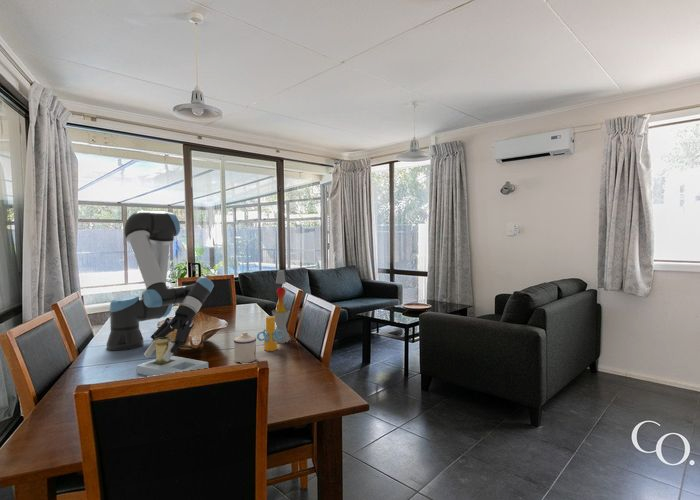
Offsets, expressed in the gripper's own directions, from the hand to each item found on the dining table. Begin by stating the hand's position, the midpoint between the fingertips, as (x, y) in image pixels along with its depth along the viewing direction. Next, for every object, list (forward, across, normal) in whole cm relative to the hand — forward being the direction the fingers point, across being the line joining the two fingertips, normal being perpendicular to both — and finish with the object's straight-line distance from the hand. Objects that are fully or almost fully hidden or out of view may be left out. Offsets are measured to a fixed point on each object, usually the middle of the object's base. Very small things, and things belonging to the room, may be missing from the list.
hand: (155, 358), depth 145 cm
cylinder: (-26, -22, -34) cm, 48 cm away
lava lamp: (-36, -18, -44) cm, 59 cm away
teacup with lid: (-15, -20, -22) cm, 34 cm away
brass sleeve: (+2, 0, -6) cm, 6 cm away
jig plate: (+2, -6, -6) cm, 8 cm away
